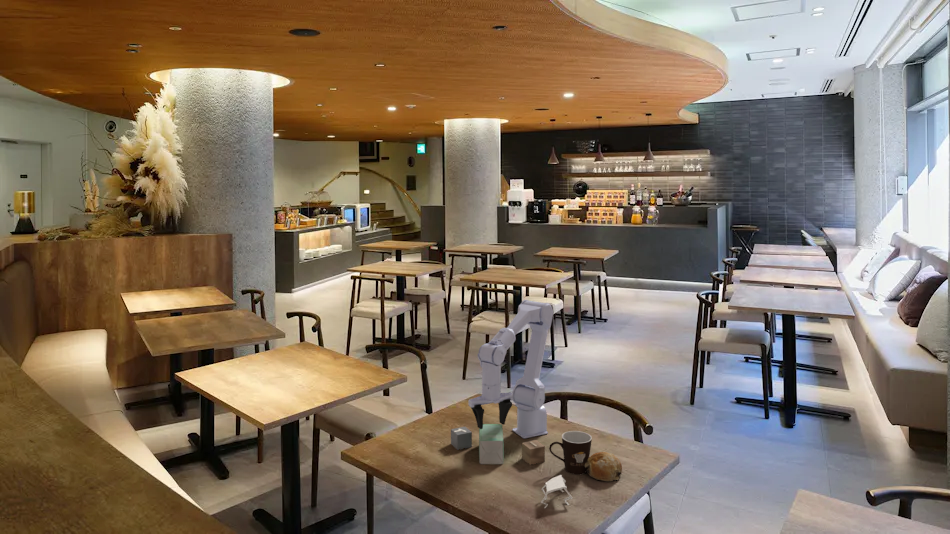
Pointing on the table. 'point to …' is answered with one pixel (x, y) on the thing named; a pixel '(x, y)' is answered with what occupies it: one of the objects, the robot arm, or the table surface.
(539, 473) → the table surface
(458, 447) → the charcoal cube
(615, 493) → the table surface
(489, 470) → the table surface
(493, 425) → the box
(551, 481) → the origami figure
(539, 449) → the brown cardboard cube
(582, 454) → the coffee mug
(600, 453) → the bread roll
